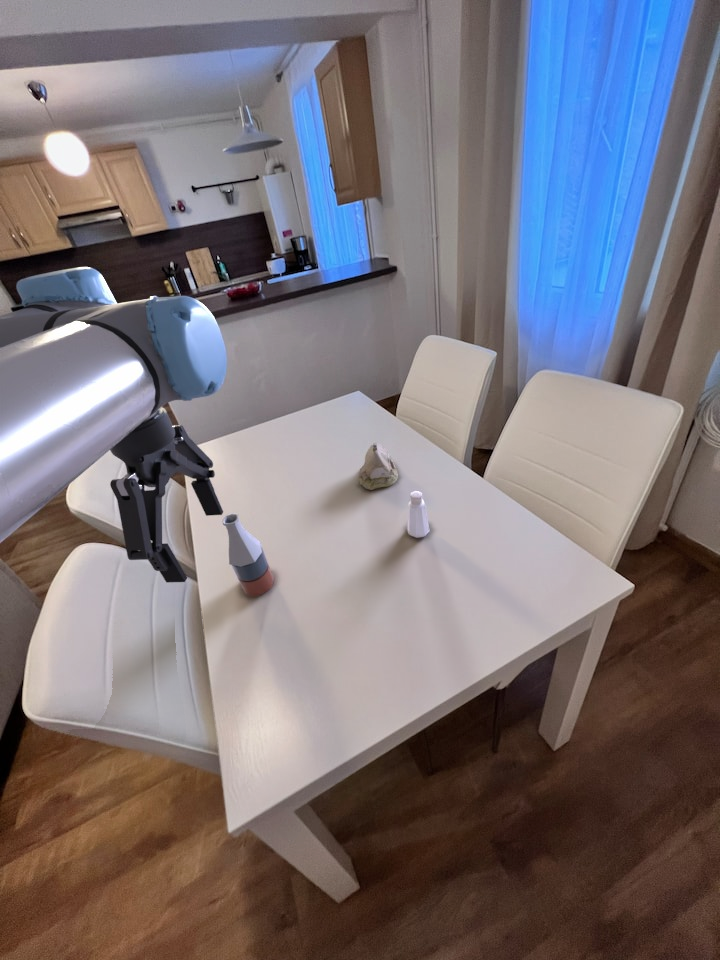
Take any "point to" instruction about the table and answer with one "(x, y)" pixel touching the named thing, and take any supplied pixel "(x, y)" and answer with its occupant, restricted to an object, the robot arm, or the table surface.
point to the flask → (241, 543)
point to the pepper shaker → (417, 516)
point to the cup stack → (255, 576)
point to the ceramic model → (377, 468)
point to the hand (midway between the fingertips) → (197, 544)
